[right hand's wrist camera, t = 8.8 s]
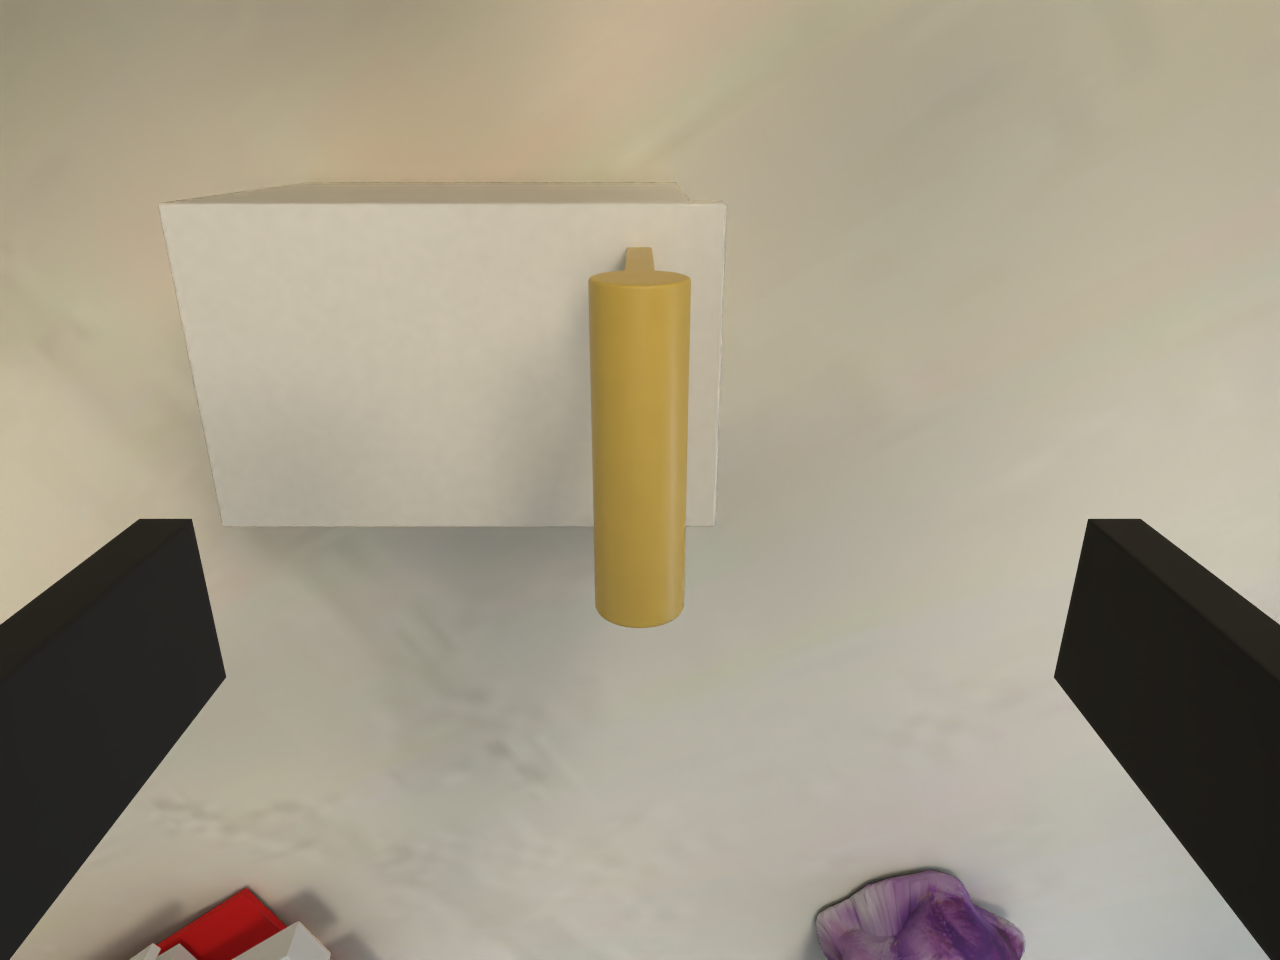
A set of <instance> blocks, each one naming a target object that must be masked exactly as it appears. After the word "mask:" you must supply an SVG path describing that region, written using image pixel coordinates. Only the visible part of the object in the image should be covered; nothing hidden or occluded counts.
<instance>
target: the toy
mask: <svg viewBox="0 0 1280 960" xmlns="http://www.w3.org/2000/svg"><path fill="white" fill-rule="evenodd" d="M330 956H331V953H330V952H329V951H328V950H327V949H326V948H325V947H324V946H323V945H322V944H321V943H320V942H319V941H318V939H317V938H316V937H315V936H314V935H313V934H312V933H311V932H310V931H309V930H308V929H307V928H306V927H305V926H304V925H303V924H302V923H301V922H300V921H297V922H295V923H294V924H292V925H290V926H289V927H287V926H286V925H285V924H284V923H283V922H282V921H281V920H279V919H278V918H277V917H276V916H275V915H274V914H273V913H272V912H271V911H270V910H269V909H268V908H267V907H266V906H265V905H264V904H263V903H262V902H260V901H259V900H258V899H257V898H256V897H255V896H254V895H253V894H252V893H251V892H250V891H249V890H248V889H247V888H245V889H243V890H242V891H240V892H239V893H237V894H235V895H234V896H232V897H231V898H229V899H228V900H226V901H225V902H223V903H221V904H220V905H218V906H217V907H215V908H214V909H212V910H210V911H209V912H207V913H206V914H204V915H203V916H201V917H199V918H198V919H196V920H195V921H193V922H192V923H190V924H189V925H187V926H185V927H184V928H182V929H181V930H179V931H178V932H176V933H174V934H173V935H171V936H170V937H168V938H167V939H165V940H163V941H162V942H160V943H159V944H157V945H155V944H154V943H152V944H151V945H149V946H148V947H146V948H145V949H144V950H142V951H141V952H139V953H138V954H137V955H135V956H134V957H132V958H131V959H130V960H330Z"/></svg>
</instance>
